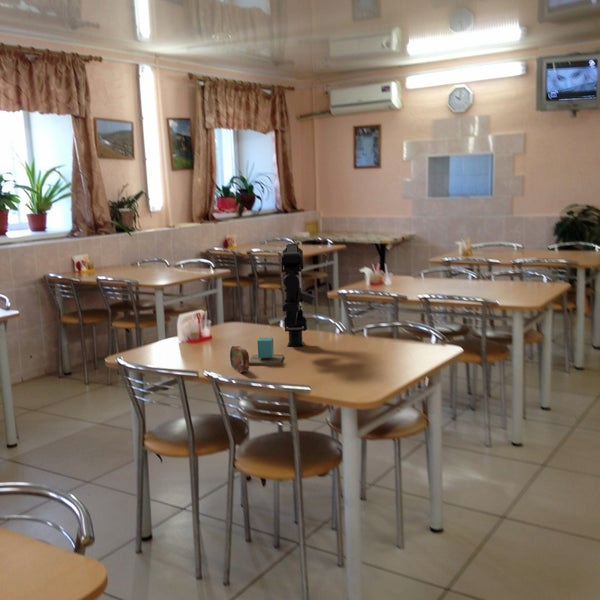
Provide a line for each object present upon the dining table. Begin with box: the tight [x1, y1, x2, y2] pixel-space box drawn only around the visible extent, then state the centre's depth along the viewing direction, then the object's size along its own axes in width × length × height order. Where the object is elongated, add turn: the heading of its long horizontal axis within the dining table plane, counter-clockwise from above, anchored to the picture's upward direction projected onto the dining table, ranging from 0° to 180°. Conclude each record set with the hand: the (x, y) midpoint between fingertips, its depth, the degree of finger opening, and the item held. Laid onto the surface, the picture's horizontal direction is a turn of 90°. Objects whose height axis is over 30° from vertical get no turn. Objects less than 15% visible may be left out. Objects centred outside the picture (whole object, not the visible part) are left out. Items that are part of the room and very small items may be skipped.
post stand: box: [249, 354, 285, 366], centre depth 265 cm, size 12×12×8 cm
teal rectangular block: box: [257, 337, 275, 358], centre depth 265 cm, size 5×5×7 cm
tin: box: [229, 345, 250, 374], centre depth 254 cm, size 15×3×8 cm, turn 23°
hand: (294, 325), depth 272 cm, fingers closed
